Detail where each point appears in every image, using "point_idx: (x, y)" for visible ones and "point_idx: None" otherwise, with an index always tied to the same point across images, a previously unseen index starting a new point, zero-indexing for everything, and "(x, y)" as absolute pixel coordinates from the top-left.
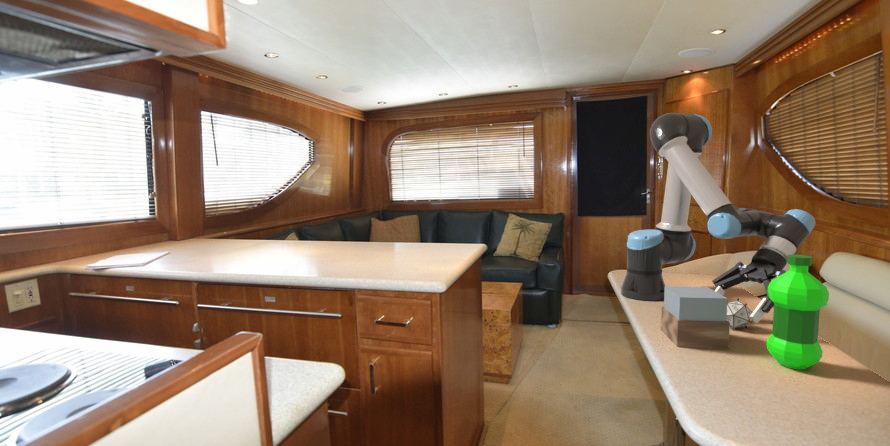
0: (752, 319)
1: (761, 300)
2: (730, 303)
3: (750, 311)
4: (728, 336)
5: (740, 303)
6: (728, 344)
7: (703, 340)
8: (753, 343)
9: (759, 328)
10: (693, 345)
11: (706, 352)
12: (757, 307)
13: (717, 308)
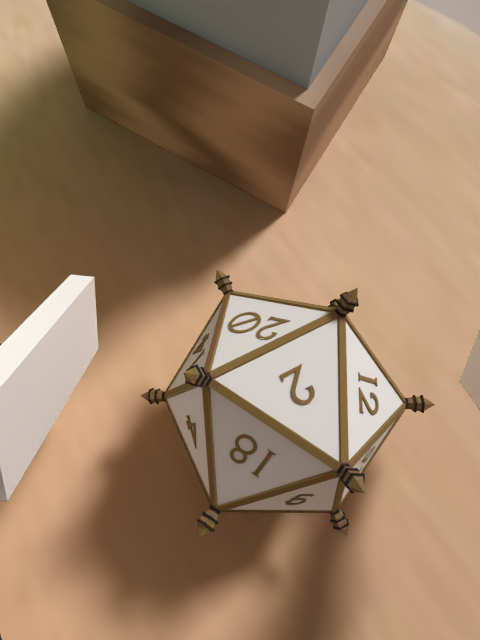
0: (94, 314)
1: (12, 374)
2: (310, 324)
3: (206, 474)
4: (67, 50)
5: (264, 398)
6: (79, 88)
7: None
8: (60, 261)
9: (191, 558)
10: None
11: None
12: (44, 320)
13: None
